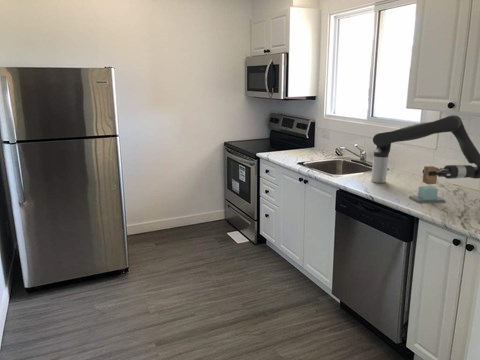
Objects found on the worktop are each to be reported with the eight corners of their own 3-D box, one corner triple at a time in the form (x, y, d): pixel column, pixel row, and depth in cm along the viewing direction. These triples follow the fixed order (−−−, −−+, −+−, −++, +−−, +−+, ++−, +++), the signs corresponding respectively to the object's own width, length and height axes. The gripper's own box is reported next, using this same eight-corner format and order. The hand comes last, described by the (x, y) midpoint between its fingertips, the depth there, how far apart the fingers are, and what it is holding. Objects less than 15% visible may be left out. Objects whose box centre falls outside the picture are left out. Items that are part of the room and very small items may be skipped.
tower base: (409, 198, 223) (410, 185, 221) (435, 197, 225) (437, 185, 223) (417, 202, 214) (419, 190, 213) (444, 201, 216) (446, 189, 214)
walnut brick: (422, 182, 219) (424, 166, 217) (430, 181, 220) (432, 166, 217) (427, 184, 214) (429, 168, 212) (436, 183, 215) (437, 168, 213)
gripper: (447, 162, 223) (419, 163, 221) (464, 167, 209) (434, 168, 207) (445, 175, 225) (418, 176, 223) (462, 181, 211) (432, 182, 209)
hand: (425, 172), depth 215 cm, fingers closed on walnut brick, 5 cm apart
